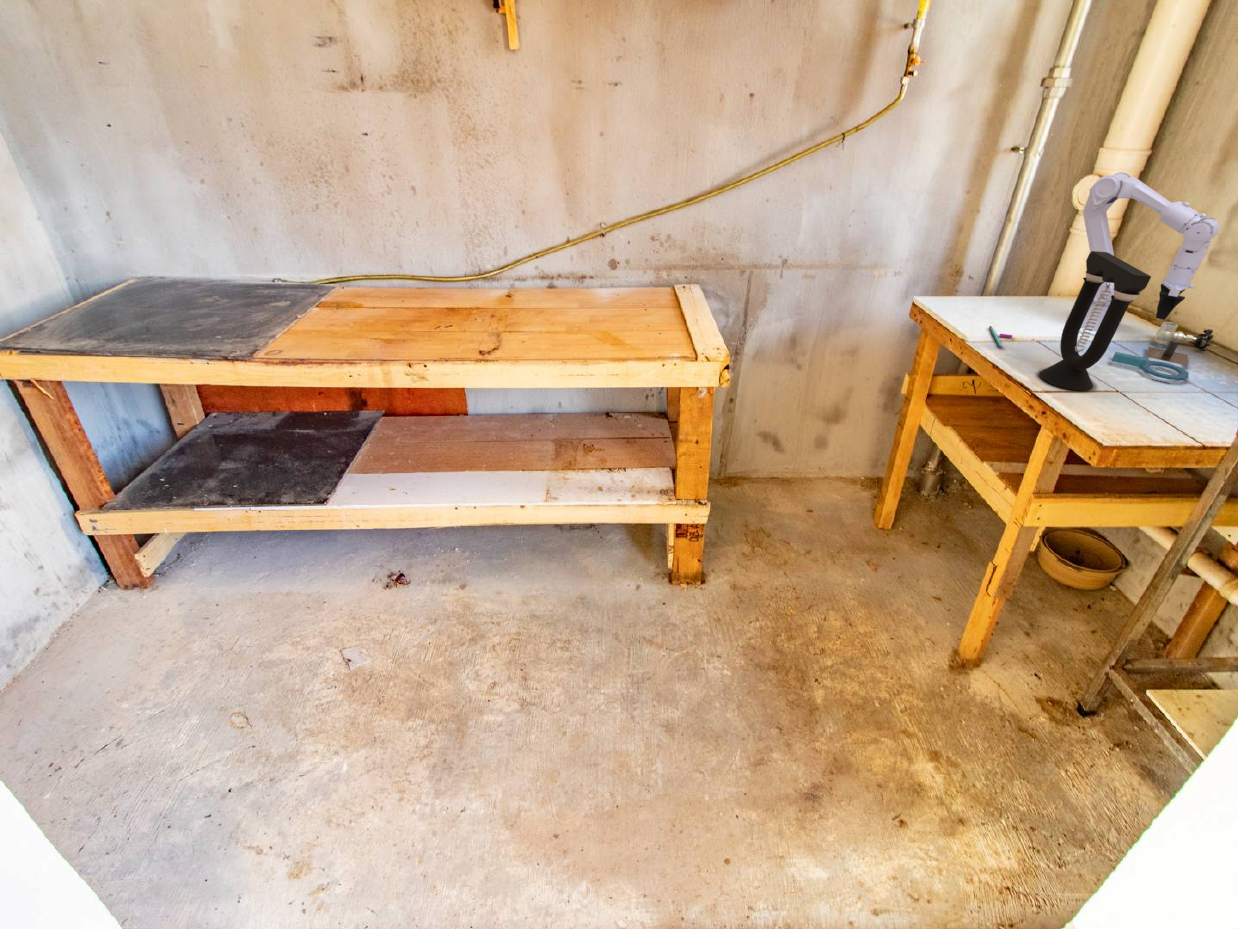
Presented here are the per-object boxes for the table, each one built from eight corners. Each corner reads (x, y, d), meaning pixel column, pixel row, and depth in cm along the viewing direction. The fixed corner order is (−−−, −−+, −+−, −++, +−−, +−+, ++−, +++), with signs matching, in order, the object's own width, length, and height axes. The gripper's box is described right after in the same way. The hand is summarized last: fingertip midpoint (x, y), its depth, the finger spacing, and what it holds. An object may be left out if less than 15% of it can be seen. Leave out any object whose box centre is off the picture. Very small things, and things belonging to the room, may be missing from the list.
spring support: (1108, 398, 159) (1167, 276, 143) (1055, 394, 160) (1108, 273, 144) (1070, 363, 176) (1119, 251, 160) (1023, 360, 178) (1067, 248, 161)
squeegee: (1019, 347, 183) (1000, 345, 184) (1018, 350, 183) (999, 348, 184) (1007, 327, 195) (989, 325, 196) (1006, 330, 195) (988, 328, 196)
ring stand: (1144, 360, 179) (1154, 341, 176) (1146, 350, 185) (1155, 332, 182) (1185, 369, 174) (1195, 350, 171) (1185, 358, 180) (1195, 340, 177)
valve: (1153, 348, 186) (1204, 356, 182) (1164, 326, 182) (1216, 333, 178) (1148, 340, 191) (1197, 347, 187) (1159, 318, 187) (1209, 325, 183)
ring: (1108, 369, 173) (1113, 358, 171) (1111, 357, 180) (1116, 346, 178) (1185, 387, 165) (1191, 376, 163) (1185, 374, 172) (1191, 362, 170)
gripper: (1203, 275, 168) (1177, 325, 175) (1203, 262, 178) (1178, 310, 185) (1170, 270, 171) (1146, 319, 179) (1171, 258, 181) (1148, 305, 189)
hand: (1160, 314), depth 182 cm, fingers open, 7 cm apart
